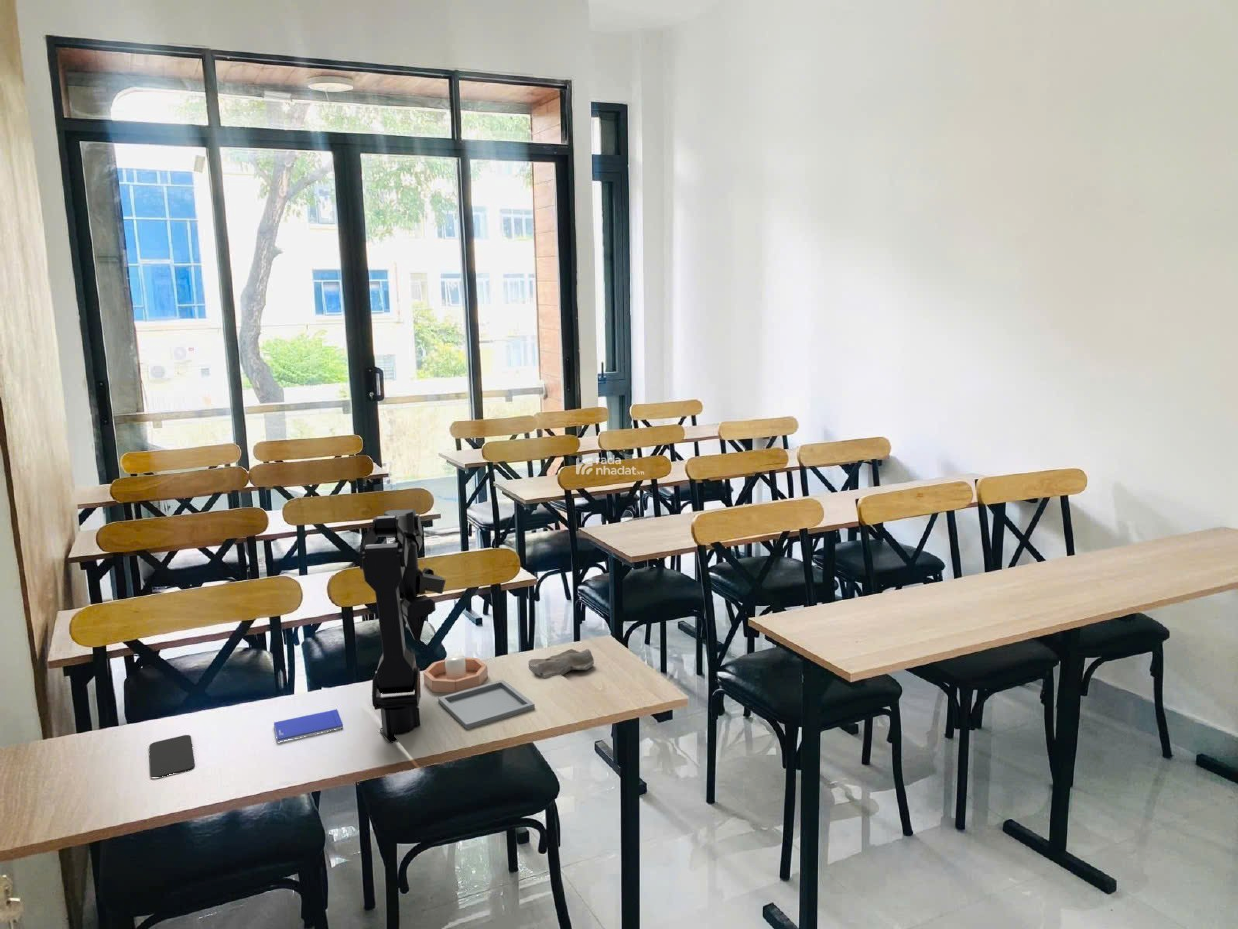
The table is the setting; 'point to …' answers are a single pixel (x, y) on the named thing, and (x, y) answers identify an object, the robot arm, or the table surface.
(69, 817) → the table surface
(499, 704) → the parts tray
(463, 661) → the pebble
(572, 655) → the stone
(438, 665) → the bowl
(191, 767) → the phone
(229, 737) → the table surface
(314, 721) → the hard drive
